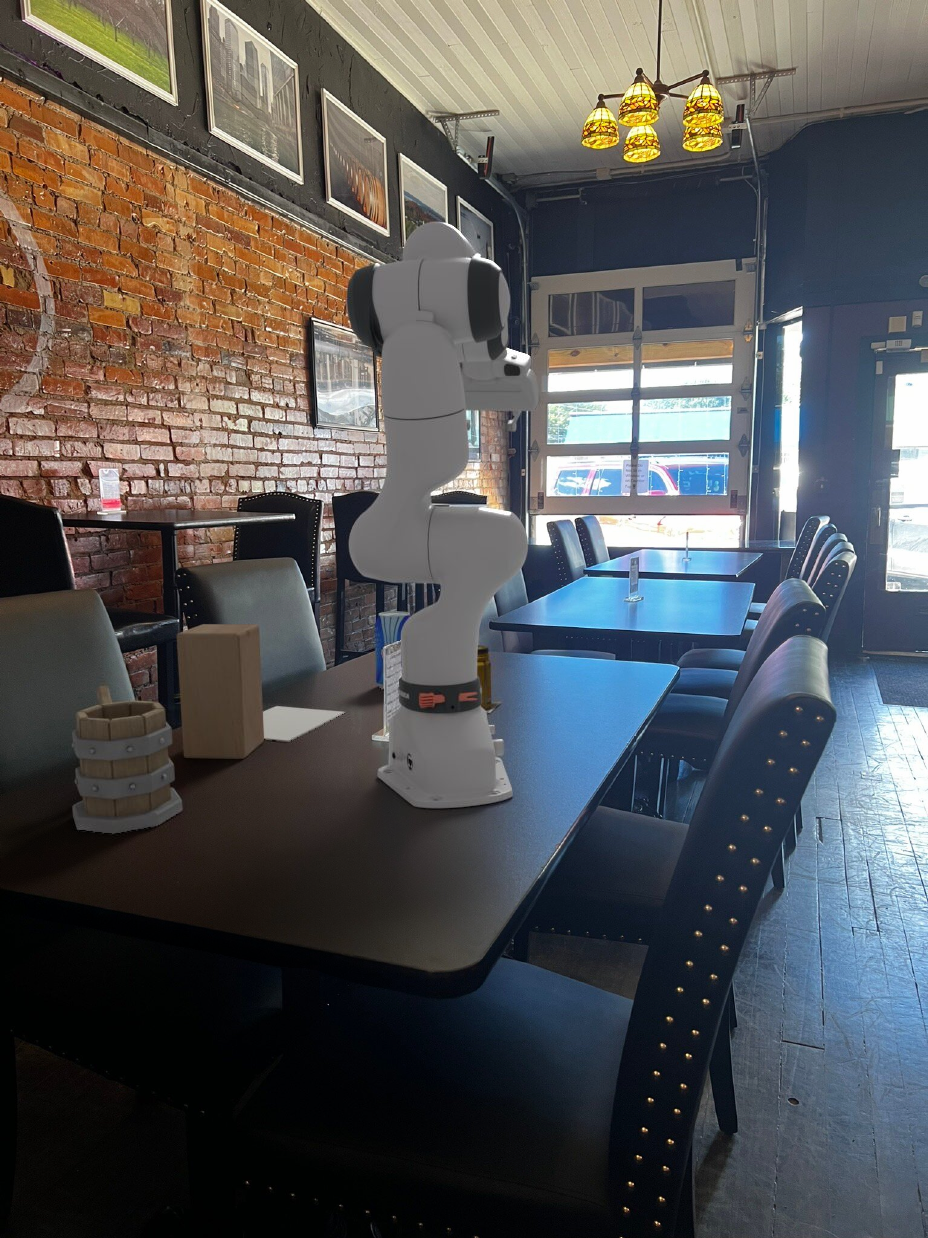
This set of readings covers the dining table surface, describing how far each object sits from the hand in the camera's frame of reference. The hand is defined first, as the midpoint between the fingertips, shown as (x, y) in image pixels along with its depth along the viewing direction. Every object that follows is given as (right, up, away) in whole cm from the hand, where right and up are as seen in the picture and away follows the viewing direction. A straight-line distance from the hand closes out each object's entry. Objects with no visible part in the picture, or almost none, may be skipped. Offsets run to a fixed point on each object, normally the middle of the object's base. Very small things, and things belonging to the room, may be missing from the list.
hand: (489, 429), depth 172 cm
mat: (-38, -57, -18) cm, 71 cm away
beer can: (-20, -53, +11) cm, 58 cm away
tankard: (-50, -63, -58) cm, 100 cm away
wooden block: (-44, -60, -34) cm, 81 cm away
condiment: (-2, -56, -7) cm, 56 cm away
